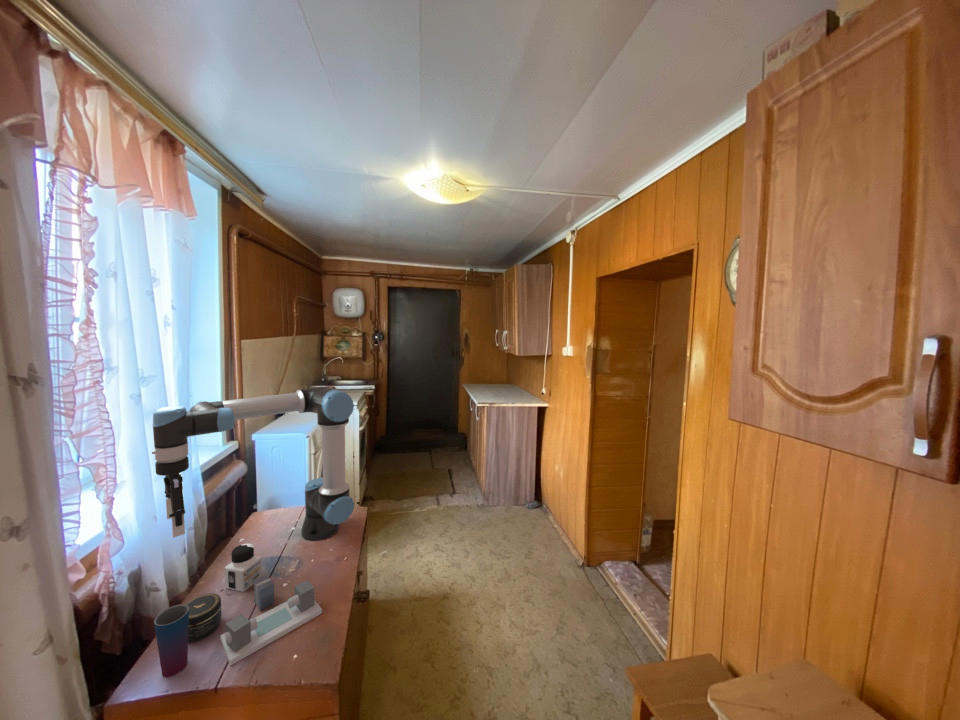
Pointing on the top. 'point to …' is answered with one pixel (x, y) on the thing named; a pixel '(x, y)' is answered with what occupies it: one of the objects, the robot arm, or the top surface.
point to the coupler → (264, 592)
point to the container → (243, 568)
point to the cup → (172, 639)
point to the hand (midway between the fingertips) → (175, 526)
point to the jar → (203, 616)
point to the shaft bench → (269, 624)
